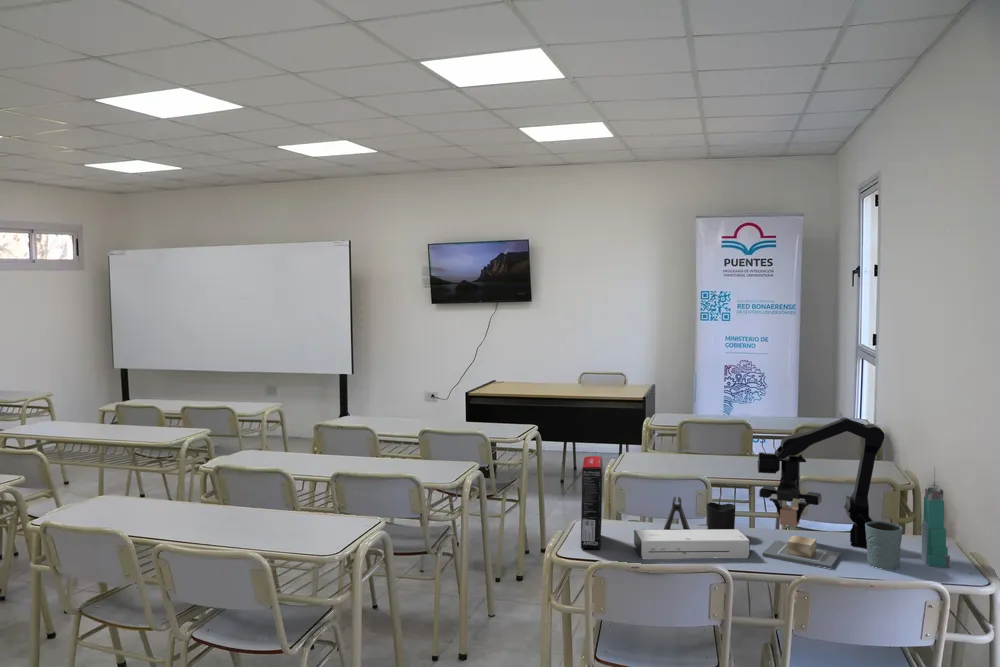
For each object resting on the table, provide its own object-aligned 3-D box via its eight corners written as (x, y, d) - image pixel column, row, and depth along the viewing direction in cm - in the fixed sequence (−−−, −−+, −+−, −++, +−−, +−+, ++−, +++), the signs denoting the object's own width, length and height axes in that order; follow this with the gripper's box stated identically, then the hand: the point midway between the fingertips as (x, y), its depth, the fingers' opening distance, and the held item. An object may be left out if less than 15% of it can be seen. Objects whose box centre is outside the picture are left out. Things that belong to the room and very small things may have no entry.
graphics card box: (582, 533, 255) (582, 455, 254) (602, 534, 254) (602, 455, 253) (580, 550, 238) (580, 466, 237) (602, 551, 237) (602, 467, 236)
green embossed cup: (873, 570, 218) (874, 530, 218) (858, 558, 229) (859, 520, 228) (908, 570, 218) (909, 530, 218) (891, 558, 228) (892, 520, 228)
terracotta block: (799, 523, 247) (799, 508, 247) (795, 526, 243) (795, 511, 243) (783, 520, 250) (784, 506, 250) (780, 524, 246) (780, 509, 246)
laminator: (640, 560, 229) (640, 540, 229) (633, 547, 242) (633, 528, 241) (749, 559, 229) (750, 540, 229) (737, 546, 242) (737, 527, 241)
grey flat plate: (840, 555, 231) (840, 552, 231) (831, 569, 220) (831, 565, 220) (774, 543, 243) (774, 540, 243) (762, 556, 231) (762, 552, 231)
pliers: (690, 531, 257) (690, 497, 256) (690, 536, 251) (690, 501, 250) (663, 529, 259) (663, 495, 258) (663, 534, 253) (663, 500, 253)
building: (943, 560, 226) (945, 463, 225) (950, 567, 220) (952, 468, 219) (921, 559, 228) (923, 463, 226) (928, 566, 222) (930, 467, 220)
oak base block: (816, 551, 232) (816, 539, 232) (810, 558, 226) (811, 545, 226) (792, 547, 236) (793, 535, 236) (787, 553, 230) (787, 541, 230)
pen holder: (719, 528, 260) (720, 500, 259) (741, 535, 251) (741, 506, 251) (700, 533, 255) (700, 504, 254) (721, 540, 247) (722, 511, 246)
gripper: (754, 475, 244) (754, 521, 245) (814, 483, 234) (813, 531, 234) (764, 469, 254) (763, 513, 254) (822, 476, 243) (821, 523, 243)
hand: (789, 520), depth 246 cm, fingers closed on terracotta block, 5 cm apart
